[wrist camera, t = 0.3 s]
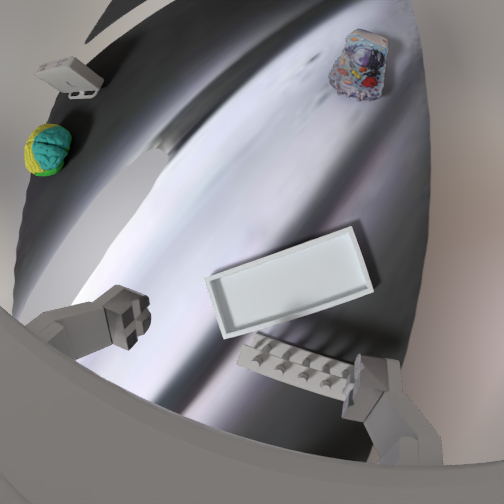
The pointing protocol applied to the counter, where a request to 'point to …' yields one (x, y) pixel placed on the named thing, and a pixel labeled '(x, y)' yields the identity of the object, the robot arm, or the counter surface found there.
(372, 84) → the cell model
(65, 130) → the brain model
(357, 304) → the counter surface
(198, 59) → the counter surface
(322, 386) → the test tube rack
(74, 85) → the network device
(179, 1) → the counter surface
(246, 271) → the tray
